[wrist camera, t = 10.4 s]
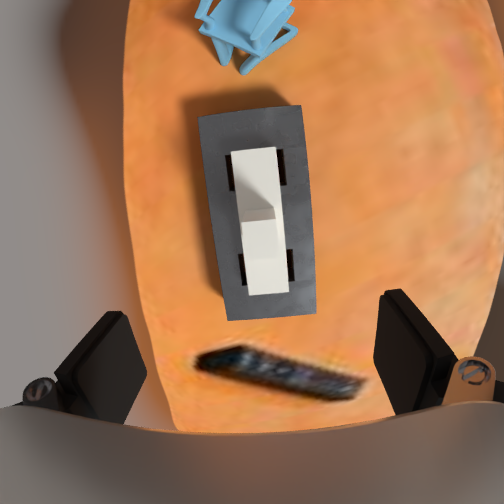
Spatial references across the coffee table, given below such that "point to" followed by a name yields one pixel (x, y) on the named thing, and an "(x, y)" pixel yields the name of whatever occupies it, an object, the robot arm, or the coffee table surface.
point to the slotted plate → (292, 197)
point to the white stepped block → (261, 219)
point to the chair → (246, 28)
